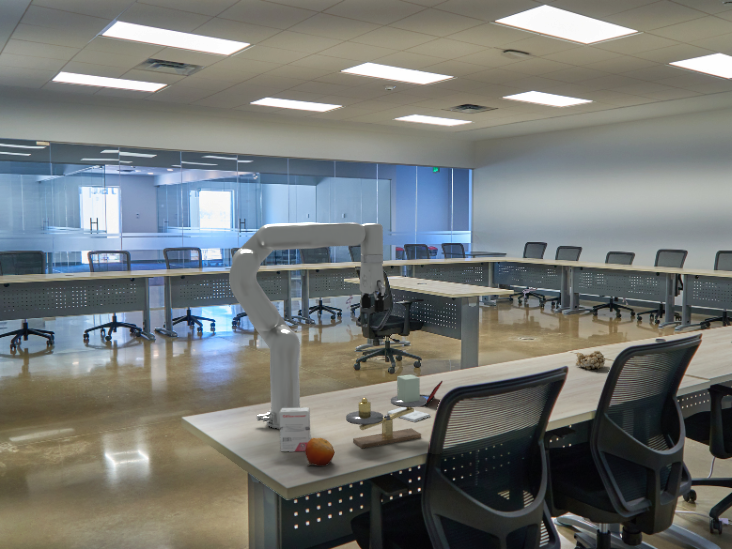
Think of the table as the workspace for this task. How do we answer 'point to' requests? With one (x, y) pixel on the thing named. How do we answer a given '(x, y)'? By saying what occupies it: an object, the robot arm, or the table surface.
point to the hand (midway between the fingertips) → (372, 310)
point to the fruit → (319, 452)
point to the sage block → (408, 388)
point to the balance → (383, 423)
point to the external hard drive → (410, 414)
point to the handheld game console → (431, 396)
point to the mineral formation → (590, 360)
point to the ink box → (294, 428)
